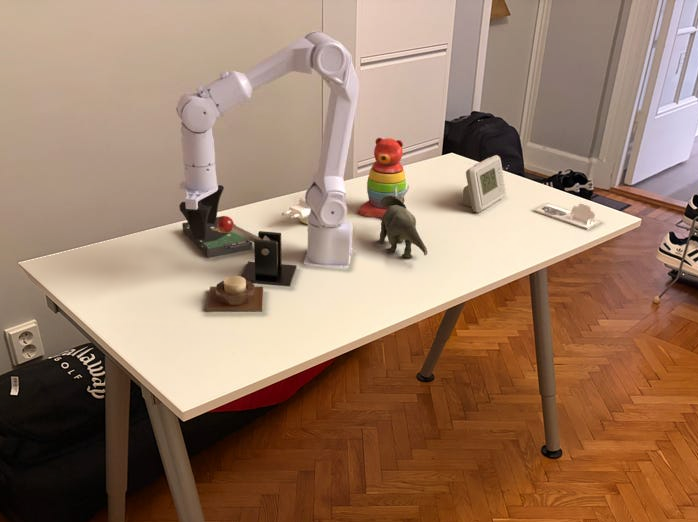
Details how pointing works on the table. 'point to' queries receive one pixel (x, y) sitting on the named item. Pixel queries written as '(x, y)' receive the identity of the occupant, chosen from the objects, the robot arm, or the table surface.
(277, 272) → the switch bracket
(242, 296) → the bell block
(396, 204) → the toy dinosaur
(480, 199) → the digital clock
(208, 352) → the table surface
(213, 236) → the disk drive
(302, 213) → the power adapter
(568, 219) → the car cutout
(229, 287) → the button
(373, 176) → the stacking bear
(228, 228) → the lever
